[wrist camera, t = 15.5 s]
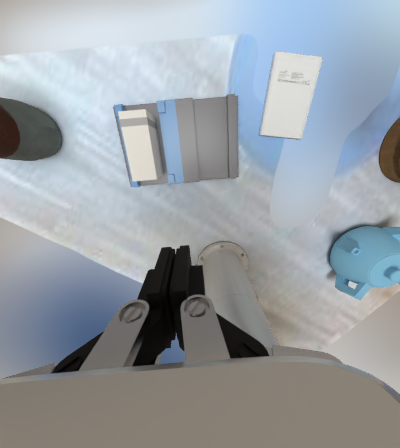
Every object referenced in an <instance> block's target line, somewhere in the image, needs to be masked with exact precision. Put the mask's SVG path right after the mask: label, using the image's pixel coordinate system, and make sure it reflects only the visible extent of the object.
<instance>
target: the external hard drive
mask: <svg viewBox="0 0 400 448" xmlns="http://www.w3.org/2000/svg"><path fill="white" fill-rule="evenodd" d="M322 59H323V58H322V57H317V56H309V55H301V54H294V53H286V52H275V53H274V54H273V58H272V63H271V69H270V74H269V79H268V85H267V90H266V96H265V101H264V109H263V114H262V120H261V125H260V131H259V136H270V137H280V138H288V139H302V136H303V132H304V128H305V124H306V120H307V116H308V112H309V108H310V105H311V101H312V97H313V93H314V89H315V85H316V82H317V78H318V74H319V70H320V66H321V63H322Z"/></svg>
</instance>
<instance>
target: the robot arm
mask: <svg viewBox="0 0 400 448" xmlns="http://www.w3.org/2000/svg"><path fill="white" fill-rule="evenodd" d="M221 245H222V246H221ZM247 270H248V258H247V255H246V253H245V252H244V251H243V249H242V248H240V247H239V246H238V245H236V244H234V243H230V242H218V243H214V244H212V245H210V246H208V247H206V248H205V249H204V250H203V251H202V252H201V254H200V255H199V258H198V261H197V266H192V265H191V257H190V248H189V245H187V246H180V248H179V249H177V251H176V254H175V249H172V248H171V247H164V248H162V249H161V252H160V254H159V257H158V260H157V263H156V266H155V269H151V270H149V271H148V273H147V275H146V278H145V281H144V283H143V286H142V289H141V291H140V293H139V296H138V299H137V300H133V301H130V302H128V303H126V304H124V305H123V306H122V307H121V308H120V309H119V310H118V311H117V313H116V314H115V316H114V317H113V319H112V320H111V322H110V323H109V325H108V326H107V328H106V329H105V331H104V332H102V333H101V334H99V335H98V336H96V337H95V338H93V339H92V340H90V341H89V342H87V343H86V344H85V345H83V346H82V347H80V348H79V349H77V350H76V351H74V352H73V353H72V354H70V355H69V356H67V357H66V358H65V359H64V360H62V361H61V362H60V363H59V364H58V365H57V366H56V364H55V363H53V364H49V365H46V366H43V367H39V368H36V369H33V370H29V371H26V372H23V373H19V374H16V375H13V376H9V377H6V378H3V379H0V448H400V394H399V393H398V392H396V391H395V390H394V389H393V388H391V387H390V386H389V385H387V384H386V383H385V382H383V381H381V380H380V379H378V378H376V377H375V376H373V375H371V374H369V373H366V372H364V371H362V370H359V369H357V368H354V367H352V366H349V365H345V364H343V363H342V362H341V361H340V360H339V359H337V358H336V357H334V356H332V355H330V354H328V353H324V352H319V351H312V350H305V349H299V348H292V347H285V346H280V344H279V342H278V340H277V339H276V337H275V335H274V333H273V331H272V329H271V327H270V325H269V322H268V320H267V318H266V316H265V314H264V311H263V309H262V307H261V305H260V302H259V300H258V297H257V295H256V293H255V290H254V288H253V286H252V284H251V281H250V279H249V277H248V274H247ZM204 282H205V287H204ZM205 295H206V296H205ZM176 333H177V338H178V340H179V346H180V348H181V349H182V350H183V351H184V352H185V360H186V362H181V363H169V364H159V363H160V359H161V352H162V351H164V350H165V349H166V348H170V347H171V340H175V336H176Z"/></svg>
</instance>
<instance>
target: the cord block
mask: <svg viewBox="0 0 400 448" xmlns="http://www.w3.org/2000/svg"><path fill="white" fill-rule="evenodd" d="M118 114H119V120H120V125H121V129H122V133H123V138H124V143H125V147H126V152H127V157H128V161H129V166H130V171H131V175H132V180H133V181H144V180H156V179H158V178H159V177H161V176H162V175H163V167H162V160H161V154H160V147H159V140H158V133H157V125H156V120H155V117H154V116H153V115H152V114H151V113H149V112H148V111H147V110H146V109H141V110H130V111H118Z"/></svg>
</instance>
